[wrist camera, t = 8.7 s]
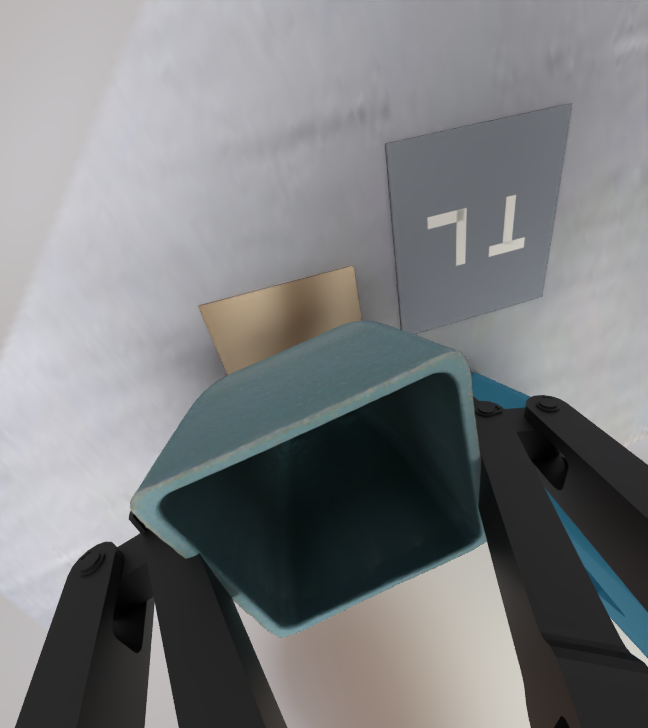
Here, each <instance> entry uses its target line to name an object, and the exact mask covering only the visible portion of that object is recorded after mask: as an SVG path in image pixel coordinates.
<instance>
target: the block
mask: <svg viewBox="0 0 648 728" xmlns="http://www.w3.org/2000/svg"><path fill="white" fill-rule="evenodd" d="M471 377H472V391H473V397H475V398H476V399H477V400H479V401H490V402H493V403H497V404H498V405H500V406H502V407H503V408H504V409H511V408H523V407H525V405H526V400H527V399H529V398H530V396H528V395H525V394H523V393H521V392H518V391H516V390H514V389H512V388H509V387H507V386H505V385H503V384H500V383H498V382H496V381H494V380H491V379H489V378H487V377H485V376H482V375H480V374H478V373H472V374H471ZM545 490H546V489H545ZM546 492H547V494H548V496H549V498H550V500H551V502H552V504H553V506H554V508H555V510H556V512H557V514H558V516H559V518H560V520H561V522H562V524H563V526H564V528H565V530H566V531H567V533H568V535H569V537H570V539H571V541H572V543H573V545H574V547H575V549H576V551H577V553H578V555H579V557H580V559H581V561H582V563H583V565H584V567H585V569H586V571H587V573H588V575H589V577H590V579H591V581H592V583H593V585H594V587H595V589H596V591H597V593H598V595H599V597H600V599H601V601H602V603H603V605H604V607H605V609H606V611H607V613H608V615H609V617H610V618H611V619H612V620H613V621H614V622H615V623H616V624H617V625H618V626H619V627H620V628H621V630H622V631H623V632H624V633H625V634H626V635H627V636H628V637H629V638H630V640H631V641H632V642H633V643H634V644H635V645H636V646H637V647H638V648H639V649H640V650H641V652H642V653H643V654H644V655H645V656H646V657H647V658H648V612H647V611H646V610H645V609H644V608H643V606H642V605H641V604H640V603H639V601H638V600H637V599H636V598H635V597H634V595H633V594H632V593H631V592H630V591H629V589H628V588H627V587H626V586H625V585H624V583H623V582H622V581H621V580H620V578H619V577H618V576H617V575H616V574H615V572H614V571H613V570H612V569H611V568H610V566H609V565H608V564H607V563H606V562H605V560H604V559H603V558H602V557H601V555H600V554H599V553H598V552H597V551H596V549H595V548H594V547H593V546H592V545H591V543H590V542H589V541H588V540H587V539H586V537H585V536H584V535H583V534H582V532H581V531H580V530H579V529H578V528H577V526H576V525H575V524H574V523H573V522H572V520H571V519H570V518H569V517H568V516H567V514H566V513H565V512H564V511H563V509H562V508H561V507H560V506H559V505H558V503H557V502H556V501H555V500H554V499H553V497H552V496H551V495H550V494H549V493H548V491H547V490H546Z"/></svg>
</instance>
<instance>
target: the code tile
mask: <svg viewBox="0 0 648 728" xmlns="http://www.w3.org/2000/svg"><path fill="white" fill-rule="evenodd" d="M571 109H572V103H570V104H565V105H561V106H556V107H552V108H547V109H542V110H538V111H533V112H529V113H524V114H519V115H515V116H510V117H506V118H501V119H496V120H492V121H487V122H483V123H478V124H473V125H469V126H464V127H460V128H455V129H450V130H446V131H441V132H437V133H432V134H427V135H423V136H418V137H414V138H409V139H404V140H400V141H395V142H391V143H387V144H385V147H386V158H387V170H388V182H389V193H390V205H391V216H392V228H393V240H394V251H395V263H396V274H397V286H398V298H399V309H400V321H401V330H402V331H405V332H408V333H411V334H417V333H420V332H424V331H427V330H430V329H434V328H437V327H441V326H444V325H447V324H451V323H454V322H458V321H461V320H464V319H468V318H471V317H475V316H478V315H481V314H485V313H488V312H492V311H495V310H498V309H502V308H505V307H509V306H512V305H516V304H519V303H522V302H526V301H529V300H533V299H536V298H539V297H542V296H543V289H544V283H545V276H546V270H547V263H548V257H549V251H550V244H551V238H552V231H553V225H554V218H555V212H556V205H557V199H558V193H559V186H560V180H561V173H562V167H563V160H564V154H565V147H566V141H567V135H568V128H569V122H570V115H571Z"/></svg>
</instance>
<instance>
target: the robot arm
mask: <svg viewBox="0 0 648 728" xmlns="http://www.w3.org/2000/svg"><path fill="white" fill-rule="evenodd" d="M473 403H474V413H475V419H476V429H477V435H478V442H479V450H480V457H481V474H480V489H479V502H478V509H479V512H480V516H481V520H482V524H483V528H484V532H485V535H486V539H487V543H488V547H489V550H490V554H491V558H492V562H493V566H494V570H495V573H496V577H497V581H498V585H499V588H500V592H501V596H502V600H503V604H504V608H505V612H506V616H507V619H508V623H509V627H510V631H511V634H512V638H513V642H514V646H515V650H516V654H517V658H518V661H519V665H520V669H521V673H522V677H523V682H524V688H525V697H526V706H527V711H528V717H529V721H530V726H531V728H648V667H647V665H646V664H645V663H644V662H643V661H641V660H640V659H638V658H637V657H635V656H634V655H632V654H631V653H630V652H629V650H628V649H627V648H626V647H625V645H624V644H623V642H622V640H621V638H620V636H619V634H618V633H617V631H616V629H615V627H614V625H613V623H612V621H611V619H610V617H609V615H608V613H607V611H606V609H605V607H604V605H603V603H602V601H601V599H600V597H599V595H598V593H597V591H596V589H595V587H594V585H593V583H592V581H591V579H590V577H589V575H588V573H587V571H586V569H585V567H584V565H583V563H582V561H581V559H580V557H579V555H578V553H577V551H576V549H575V547H574V545H573V543H572V541H571V539H570V537H569V535H568V533H567V531H566V530H565V528H564V526H563V524H562V522H561V520H560V518H559V516H558V514H557V512H556V510H555V508H554V506H553V504H552V502H551V500H550V498H549V496H548V494H547V492H546V490H547V491H548V493H549V494H550V495H551V496H552V497H553V499H554V500H555V501H556V502H557V503H558V505H559V506H560V507H561V508H562V509H563V511H564V512H565V513H566V514H567V516H568V517H569V518H570V519H571V520H572V522H573V523H574V524H575V525H576V526H577V528H578V529H579V530H580V531H581V532H582V534H583V535H584V536H585V537H586V539H587V540H588V541H589V542H590V543H591V545H592V546H593V547H594V548H595V549H596V551H597V552H598V553H599V554H600V555H601V557H602V558H603V559H604V560H605V562H606V563H607V564H608V565H609V566H610V568H611V569H612V570H613V571H614V572H615V574H616V575H617V576H618V577H619V578H620V580H621V581H622V582H623V583H624V585H625V586H626V587H627V588H628V589H629V591H630V592H631V593H632V594H633V595H634V597H635V598H636V599H637V600H638V601H639V603H640V604H641V605H642V606H643V608H644V609H645V610H646V611H647V612H648V465H647V464H646V463H644V462H643V461H642V460H640V459H639V458H638V457H636V456H635V455H634V454H632V453H631V452H630V451H628V450H627V449H626V448H625V447H624V446H622V445H621V444H620V443H618V442H617V441H616V440H614V439H613V438H612V437H610V436H609V435H608V434H607V433H605V432H604V431H603V430H601V429H600V428H599V427H597V426H596V425H595V424H593V423H592V422H591V421H590V420H588V419H587V418H586V417H584V416H583V415H582V414H580V413H579V412H578V411H576V410H575V409H574V408H572V407H571V406H570V405H569V404H567V403H566V402H564V401H562V400H561V399H558V398H555V397H552V396H545V395H538V396H533V397H530V398H529V399H527V400H526V405H525V407H523V408H511V409H504V408H503V407H502V406H500V405H498V404H497V403H493V402H490V401H479V400H477V399H476V398H475V397H473ZM545 489H546V490H545ZM129 520H130V521H131V522H132V524H133V525H134V526H135V527H136V528H137V529H138V531H139V532H140V534H138V535H137V536H135V537H134V538H132V539H130V540H129V541H127V542H125V543H124V544H122V545H120V546H119V547H116V546H115V545H114V544H113V543H112V542H103V543H101V544H98V545H96V546H94V547H93V548H91V549H90V550H88V551H87V552H86V553H85V554H84V555H82V556H81V557H80V558H79V559H78V561H77V562H76V563H75V564H74V566H73V567H72V569H71V571H70V573H69V575H68V577H67V580H66V583H65V585H64V588H63V591H62V594H61V597H60V600H59V603H58V605H57V608H56V611H55V614H54V617H53V620H52V623H51V626H50V628H49V631H48V634H47V637H46V640H45V643H44V646H43V649H42V651H41V654H40V657H39V660H38V663H37V666H36V669H35V671H34V674H33V677H32V680H31V683H30V686H29V689H28V692H27V694H26V697H25V700H24V703H23V706H22V709H21V712H20V714H19V717H18V720H17V723H16V726H15V728H144V726H145V714H146V702H147V689H148V676H149V665H150V651H151V639H152V627H153V615H154V603H155V606H156V611H157V616H158V621H159V626H160V631H161V636H162V642H163V647H164V653H165V658H166V663H167V668H168V673H169V679H170V684H171V689H172V694H173V699H174V704H175V710H176V715H177V720H178V726H179V728H287V726H286V723H285V721H284V719H283V716H282V714H281V712H280V710H279V707H278V705H277V702H276V700H275V698H274V695H273V693H272V691H271V688H270V686H269V684H268V681H267V679H266V677H265V674H264V672H263V669H262V667H261V665H260V662H259V660H258V658H257V656H256V653H255V651H254V649H253V646H252V644H251V641H250V639H249V637H248V634H247V632H246V630H245V627H244V625H243V623H242V621H241V618H240V616H239V613H238V611H237V609H236V607H235V604H234V602H233V599H232V597H231V596H230V595H229V593H228V592H227V591H226V589H225V588H224V587H223V585H222V584H221V582H220V581H219V580H218V578H217V577H216V576H215V574H214V573H213V571H212V570H211V569H210V567H209V566H208V565H207V563H206V562H205V560H204V559H203V557H202V556H201V555H200V553H198V554H197V555H195V556H193V557H191V558H187V559H186V558H184V557H183V556H182V555H180V554H178V553H177V552H176V551H175V550H174V548H172V547H171V546H169V545H168V544H167V543H165V542H164V541H163V540H161V539H160V538H159V537H158V536H157V535H156V534H155V533H154V532H152V531H151V530H150V529H149V528H146V526H145V525H144V523H142V522H141V521H140V520H139V519H138V518H137V516H136V515H134V514H133V513H132V511H131V512H130V514H129Z"/></svg>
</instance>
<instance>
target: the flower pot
mask: <svg viewBox="0 0 648 728" xmlns="http://www.w3.org/2000/svg"><path fill="white" fill-rule="evenodd" d="M480 474H481V457H480V450H479V442H478V435H477V429H476V419H475V413H474V403H473V391H472V377H471V372H470V368H469V365H468V362H467V360H466V358H465V356H464V355H463V354H462V352H459V351H456V350H454V349H451V348H448V347H445V346H442V345H440V344H437V343H435V342H432V341H430V340H427V339H424V338H422V337H419V336H417V335H414V334H411V333H408V332H405V331H402V330H399V329H397V328H394V327H391V326H388V325H385V324H382V323H378V322H373V321H355V322H350V323H346V324H343V325H341V326H338V327H335V328H333V329H331V330H329V331H327V332H324V333H322V334H320V335H318V336H316V337H313V338H311V339H309V340H307V341H304V342H302V343H300V344H298V345H295V346H293V347H291V348H289V349H286V350H284V351H282V352H280V353H277V354H275V355H273V356H271V357H268V358H266V359H264V360H261V361H259V362H257V363H254V364H252V365H250V366H247V367H245V368H243V369H240V370H238V371H236V372H234V373H232V374H230V375H228V376H226V377H224V378H222V379H221V380H219V381H217V382H216V383H215V384H213V385H212V386H211V387H209V388H208V389H207V390H206V391H205V392H204V393H203V394H202V395H201V396H200V397H199V398H198V399H197V400H196V401H195V403H194V404H193V405H192V407H191V408H190V409H189V411H188V412H187V414H186V415H185V417H184V418H183V420H182V421H181V423H180V424H179V426H178V428H177V429H176V431H175V432H174V433H173V435H172V437H171V438H170V440H169V441H168V443H167V445H166V446H165V447H164V449H163V450H162V452H161V454H160V455H159V457H158V458H157V460H156V461H155V463H154V465H153V466H152V468H151V469H150V471H149V473H148V474H147V476H146V477H145V479H144V481H143V482H142V484H141V485H140V487H139V489H138V490H137V491H136V493H135V494H134V496H133V497H132V499H131V502H130V509H131V511H132V513H133V514H134V515H136V516H137V518H138V519H139V520H140V521H141V522H142V523H144V525H145V526H146V528H149V529H150V530H151V531H152V532H154V533H155V534H156V535H157V536H158V537H159V538H160V539H161V540H163V541H164V542H165V543H167V544H168V545H169V546H171V547H172V548H174V550H175V551H176V552H177V553H178V554H180V555H182V556H183V557H184V558H186V559H187V558H191V557H193V556H195V555H197V554H198V553H200V555H201V556H202V557H203V559H204V560H205V562H206V563H207V565H208V566H209V567H210V569H211V570H212V571H213V573H214V574H215V576H216V577H217V578H218V580H219V581H220V582H221V584H222V585H223V587H224V588H225V589H226V591H227V592H228V593H229V595H230V596H231V597H232V599H233V601H234V602H236V603H237V604H238V605H239V606H240V607H241V608H242V609H243V610H244V611H245V612H246V613H248V614H249V615H251V616H252V617H253V618H254V619H255V620H256V621H257V622H258V623H259V624H260V625H261V626H262V627H264V628H265V629H266V630H267V631H268V632H270V633H272V634H274V635H276V636H278V637H280V638H282V637H287V636H290V635H292V634H295V633H297V632H300V631H302V630H304V629H307V628H309V627H311V626H314V625H316V624H317V623H319V622H322V621H323V620H326V619H328V618H329V617H332V616H334V615H336V614H337V613H340V612H342V611H345V610H346V609H348V608H350V607H352V606H354V605H356V604H358V603H360V602H362V601H364V600H366V599H368V598H371V597H373V596H375V595H377V594H379V593H381V592H383V591H385V590H387V589H390V588H392V587H394V586H395V585H397V584H400V583H402V582H404V581H407V580H409V579H411V578H414V577H416V576H418V575H420V574H423V573H425V572H427V571H429V570H431V569H434V568H436V567H438V566H440V565H442V564H444V563H447V562H448V561H451V560H453V559H455V558H457V557H460V556H462V555H463V554H465V553H468V552H470V551H472V550H474V549H475V548H477V547H479V546H480V545H482V544H483V543H485V542H487V539H486V535H485V532H484V528H483V524H482V520H481V516H480V512H479V509H478V502H479V489H480Z"/></svg>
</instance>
